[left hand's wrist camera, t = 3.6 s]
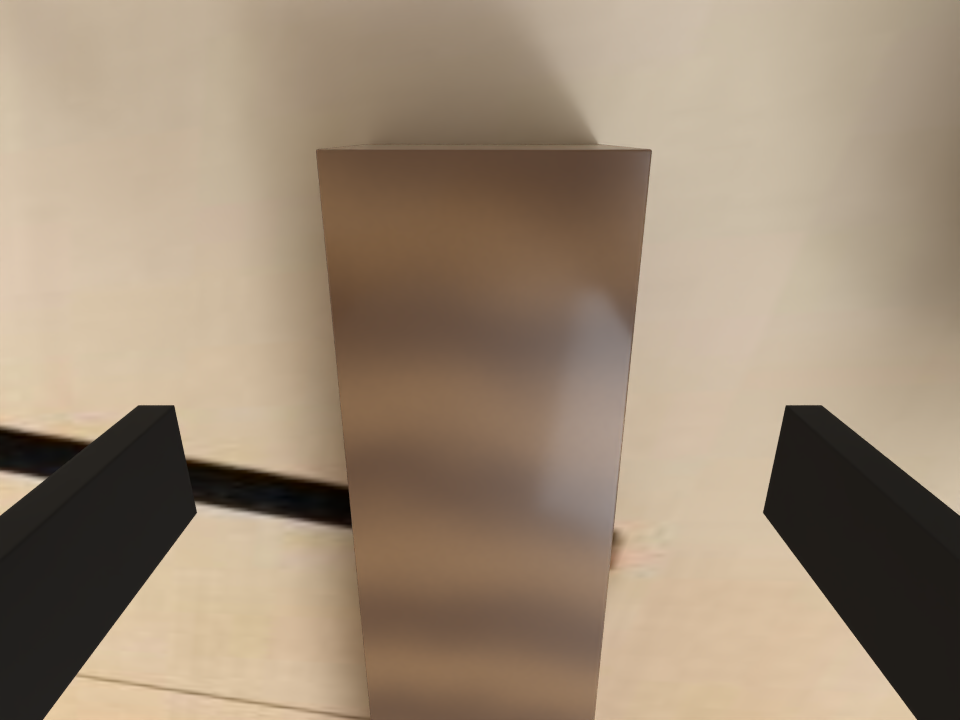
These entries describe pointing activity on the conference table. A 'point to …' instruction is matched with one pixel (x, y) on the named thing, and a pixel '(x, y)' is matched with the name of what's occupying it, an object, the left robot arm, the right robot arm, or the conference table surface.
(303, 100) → the conference table surface
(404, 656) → the thick board
